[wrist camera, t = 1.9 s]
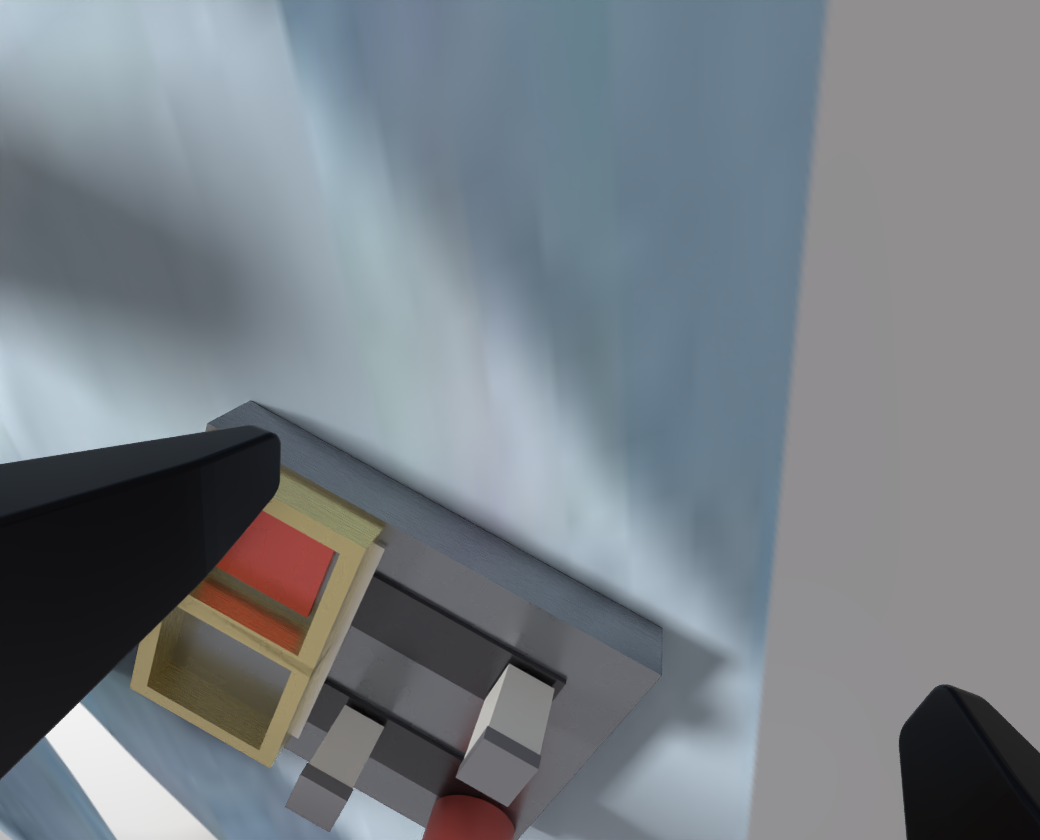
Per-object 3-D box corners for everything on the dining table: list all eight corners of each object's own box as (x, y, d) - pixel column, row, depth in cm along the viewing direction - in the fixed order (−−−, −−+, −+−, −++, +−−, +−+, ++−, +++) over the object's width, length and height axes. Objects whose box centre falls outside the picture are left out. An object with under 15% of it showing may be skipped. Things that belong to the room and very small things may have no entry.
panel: (506, 816, 30) (484, 901, 27) (187, 635, 31) (124, 694, 27) (662, 628, 24) (660, 708, 20) (250, 400, 24) (177, 438, 21)
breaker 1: (368, 757, 27) (329, 832, 24) (328, 735, 27) (284, 806, 24) (385, 727, 25) (347, 801, 22) (344, 703, 26) (300, 774, 22)
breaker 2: (528, 725, 23) (507, 806, 20) (483, 699, 23) (455, 777, 20) (556, 688, 22) (538, 769, 19) (508, 662, 22) (483, 738, 19)
